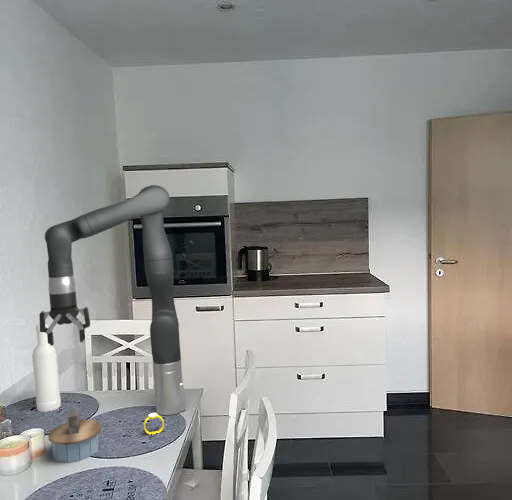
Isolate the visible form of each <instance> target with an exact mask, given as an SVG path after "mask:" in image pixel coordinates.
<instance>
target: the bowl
mask: <svg viewBox="0 0 512 500" xmlns="http://www.w3.org/2000/svg"><path fill="white" fill-rule="evenodd" d="M99 442H100V441H99V433H98V434H97V435H95V436H94V437H92V438H90V439H88V440H85V441H82V442H79V443H74V444H66V445H61V444H54V443H52V442H51V447H52V458H53V460H55V461H56V462H58V463H67V464H68V463H73V462H79V461H83V460H85V459H88V458H90V457H92V456H93V455H95V454H94V453H97V452H98V451H99V447H100V445H99V444H100V443H99Z"/></svg>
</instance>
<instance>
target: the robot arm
mask: <svg viewBox="0 0 512 500" xmlns="http://www.w3.org/2000/svg"><path fill="white" fill-rule="evenodd" d="M170 199H171V197H170V194H169V192H168V190H167V189H166V188H165V187H163V186H160V185H156V184H151V185H149V186H148V185H147V186H145V187H143V188H141V189H140V191H139V192H138V193H137V194H136V195H134V196H132V197H130V198H128V199H126V200H125V199H124V200H122V201H120V202H116V203H114V204H111V205H107V206H103V207H100V208H98V209H97V208H96V209H94V210H92V211H90V212H87V213H84V214H82V215H79V216H77V217H75V218H73V219H70V220H67V221H64V222H63V221H62V222H61V223H58V224H54V225H52V226H50V227H48V229H46V231H45V234H44V240H45V242H46V243H45V244H46V248H47V249H46V250H47V251H46V252H47V258H48V261H47V273H48V293H49V294H48V295H49V296H48V297H49V307H50V310H49V311H44V310H42V311H40V313H39V324H40V332H45V333H47V339H48V344H50V345H53V346H54V344H55V341H54V332H53V330H54V328H55V327H56V325H61V326H62V325H64V324H65V325H70V324H74V326H76V327H77V329H79V330H78V332H79V343H83V342H84V341H85V338H86V332H85V331H86V330H85V329H87V328H90V326H91V320H90V314H89V312H90V311H89V307H87V306H84V307H83V308H79V307H78V303H77V301H78V300H77V291H76V280H75V276H74V267H73V260H72V243H75V242H77V241H79V240H81V239H87V238H90V237H93V236H95V235H98V234H101V233H102V232H105V231H107V230H110V229H112V228H114V227H117V226H120V225H121V224H123V223H125V222H128V221H131V220H133V219H136V218H140V222H141V228H142V249H143V250H142V251H143V263H144V264H143V265H144V272H145V278H146V282H147V285H148V289H149V293H150V298H151V322H150V327H149V335H150V337H149V338H150V347H151V348H150V349H151V355H152V364H153V378H154V393H155V395H154V397H155V409H156V413H157V414H158V415H160V416H172V415H173V416H174V415H176V414H179V413H181V412H186V410H185V409H186V406H185V405H186V404H185V392H184V391H185V390H184V381H183V372H182V369H183V367H182V359H181V355H182V354H181V344H180V343H181V342H180V330H179V329H180V328H179V327H180V323H179V319H178V313H177V309H176V305H175V300H174V283H175V282H174V277H175V276H174V262H173V254H172V250H171V249H172V248H171V246H170V242H169V240H168V237H167V234H166V230H165V225H164V211H165V210H167V208H168V206H169V204H170V201H171V200H170ZM79 313H80V315H82V316H83V317H84V323H82V321H81V320H80V319H79V318H78V315H79ZM48 317H50V318H51V319H52V320H53V321H52V322H51V324H50V325H49V326H48V328H46V327H45V323H46V319H47V318H48Z"/></svg>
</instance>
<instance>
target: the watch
mask: <svg viewBox="0 0 512 500" xmlns="http://www.w3.org/2000/svg"><path fill="white" fill-rule="evenodd" d="M157 418H159V419H160V420H161V422H162V424H161V428H159V429H158V430H156V431H149V430H148V429H147V428H146V423H148V421H149V420H152V419H153V420H154V419H157ZM164 427H165V422H164V418H163V417H162V415H160V414H158V413H157V412H151V413H149V414H148V416H147V417H146V418H145V420H144V421H143V430H144V432H145V433H146V434H147V435H149V436H151V434H152V435H156V433H158V434H160V433H162V432H163V430H164Z"/></svg>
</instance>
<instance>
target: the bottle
mask: <svg viewBox="0 0 512 500" xmlns="http://www.w3.org/2000/svg"><path fill="white" fill-rule="evenodd" d="M45 327H46V328H49V326H48V323H46V322H45ZM35 330H36V339H37V345H36V346H35V347H34V349H33V351H32V353H31V354H32V358H31V359H32V366H33V367H32V368H33V377H34V378H33V379H34V389H35V398H36V399H35V401H36V402H35V404H36V410H37V412H39V413H49V411H50V412H53V410H54V411H56V410H58V409H60V408H61V406H62V399H61V390H60V379H59V367H58V357H57V356H58V355H57V351H56V347H54V345H50V344H48V339H47V333H45V332H40V323H38V324H37V325H36V328H35ZM59 407H60V408H59Z"/></svg>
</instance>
